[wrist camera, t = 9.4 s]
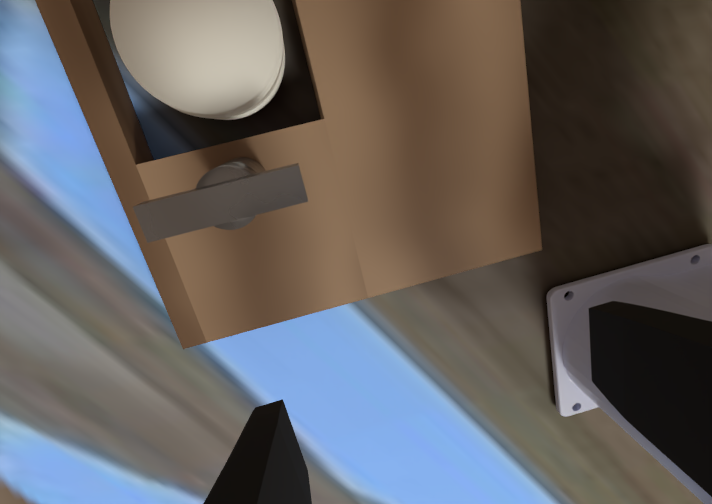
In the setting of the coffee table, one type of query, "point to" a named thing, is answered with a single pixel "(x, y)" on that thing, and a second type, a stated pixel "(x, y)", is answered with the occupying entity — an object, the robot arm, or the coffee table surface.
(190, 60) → the ribbed cream cylinder
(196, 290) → the shelf board
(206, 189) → the hook post
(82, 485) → the coffee table surface
